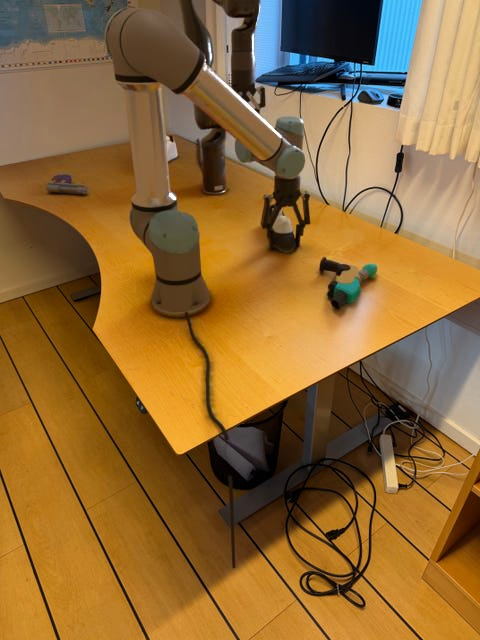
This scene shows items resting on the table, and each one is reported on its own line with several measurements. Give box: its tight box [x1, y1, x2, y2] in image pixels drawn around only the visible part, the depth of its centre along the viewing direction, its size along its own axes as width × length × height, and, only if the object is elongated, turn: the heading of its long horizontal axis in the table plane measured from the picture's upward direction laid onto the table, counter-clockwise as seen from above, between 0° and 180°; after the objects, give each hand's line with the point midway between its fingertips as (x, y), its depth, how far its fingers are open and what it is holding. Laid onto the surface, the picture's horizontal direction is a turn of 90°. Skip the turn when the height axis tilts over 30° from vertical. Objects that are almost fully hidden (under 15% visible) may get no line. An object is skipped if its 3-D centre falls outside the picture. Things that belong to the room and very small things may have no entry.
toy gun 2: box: [318, 256, 378, 312], centre depth 129 cm, size 4×26×15 cm
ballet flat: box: [267, 203, 297, 253], centre depth 154 cm, size 8×24×8 cm, turn 10°
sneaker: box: [166, 134, 179, 162], centre depth 214 cm, size 10×29×12 cm, turn 163°
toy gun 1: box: [45, 173, 89, 195], centre depth 192 cm, size 4×19×15 cm
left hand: (284, 246), depth 150 cm, fingers closed on ballet flat, 8 cm apart
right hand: (243, 122), depth 157 cm, fingers open, 8 cm apart
